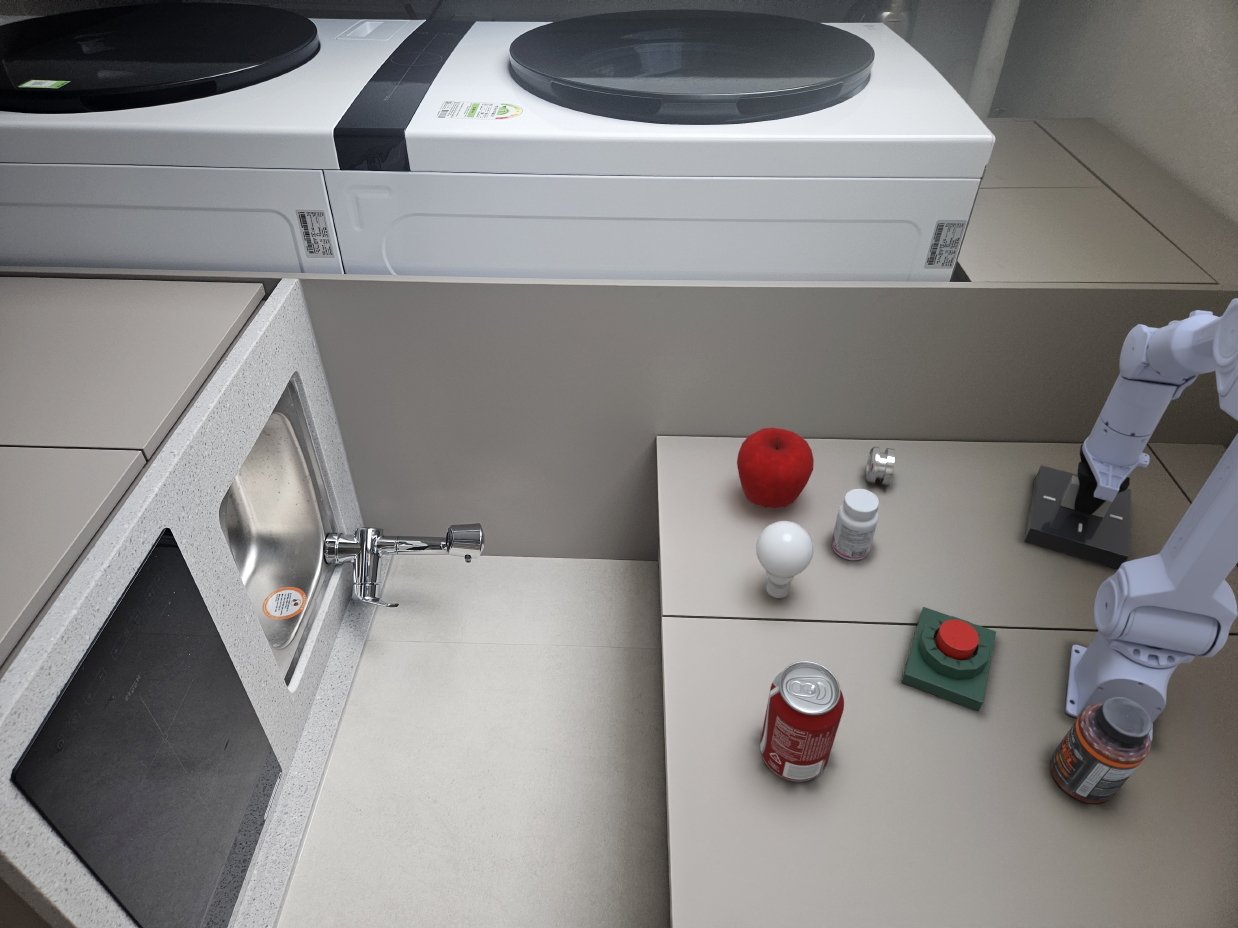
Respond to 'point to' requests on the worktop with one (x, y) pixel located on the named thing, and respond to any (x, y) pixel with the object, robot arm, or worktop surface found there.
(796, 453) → the apple
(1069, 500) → the knob
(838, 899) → the worktop surface
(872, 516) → the pill bottle
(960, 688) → the button block
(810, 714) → the soda can
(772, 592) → the lightbulb
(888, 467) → the grooved metal pulley
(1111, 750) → the supplement bottle
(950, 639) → the button
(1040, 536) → the block
